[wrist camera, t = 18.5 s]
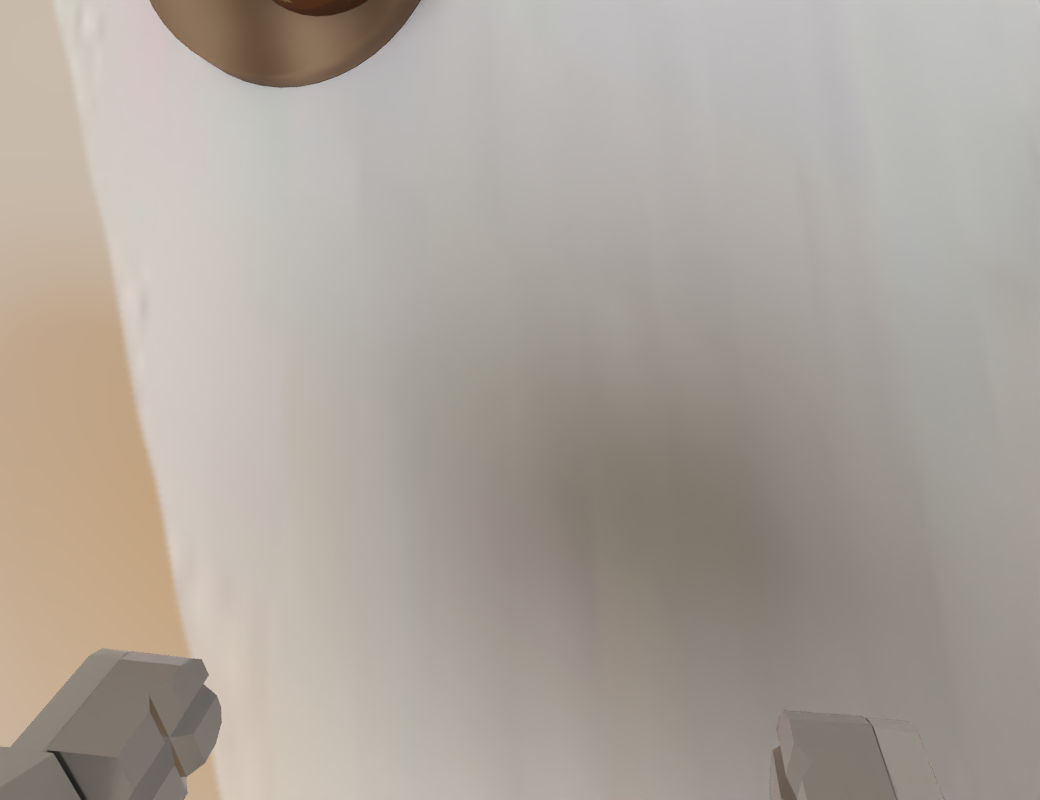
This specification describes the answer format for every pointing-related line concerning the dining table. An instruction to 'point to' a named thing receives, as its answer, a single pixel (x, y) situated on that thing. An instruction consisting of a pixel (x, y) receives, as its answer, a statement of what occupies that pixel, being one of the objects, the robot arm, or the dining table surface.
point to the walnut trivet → (282, 37)
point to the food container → (319, 6)
